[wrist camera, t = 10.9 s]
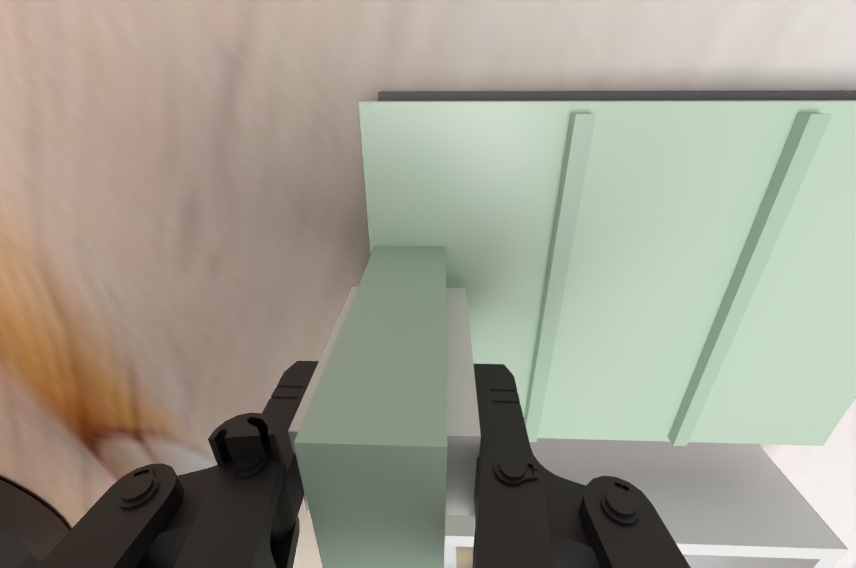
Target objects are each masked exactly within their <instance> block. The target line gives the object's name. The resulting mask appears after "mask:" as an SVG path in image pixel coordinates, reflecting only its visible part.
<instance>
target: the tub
mask: <svg viewBox="0 0 856 568" xmlns="http://www.w3.org/2000/svg"><path fill="white" fill-rule="evenodd" d="M529 443H530V447H531V449H532V452H533V455H534V456H535V457H536V459H537V460H538V462H539V463H540V464H541V465H542V466H543V467H544V468H545V469H547V470H548V471H550V472H552V473H553V474H555V475H557V476H559V477H562V478H564V479H567V480H570V481H573V482H577V483H580V484H583V485H587V484H588V483H589V482H590V481H591V480H592V479H593V478H597V477H600V476H612V477H618V478H620V479H623V480H625V481H627V482H630V483H631V484H633V485H634V486H635V487H637V488H638V489H639V490H641V491H642V492H643V493H644V494H645V496H646V497H647V498H648V499H649V500H650V502H651V503H652V504H653V506H654V508H655V509H656V511H657V513H658V514H659V516H660V518H661V519H662V521H663V523H664V524H665V526H666V528H667V529H668V531H669V533H670V534H671V536H672V538H673V539H674V541H675V543H676V544H677V546H678V548H679V549H680V551H681V553H682V554H685V555H689V556H688V557H686V558H685V559H686V561H687V563H688V564H689V566H690V568H833V567H834V566H835V564H836V563H837V562H838V561H839V560H840V559H841V558H842V556H843V555H844V554H845V553H846V552H847V551H848V548H847V547H846V546H845V545H844V544H843V543H842V541H841V540H840V539H839V538H838V537H837V536H836V534H835V533H834V532H833V531H832V530H831V529H830V527H829V526H828V525H827V524H826V523H825V522H824V521H823V519H822V518H821V517H820V516H819V515H818V514H817V512H816V511H815V510H814V509H813V508H812V507H811V505H810V504H809V503H808V502H807V501H806V500H805V498H804V497H803V496H802V495H801V494H800V493H799V491H798V490H797V489H796V488H795V487H794V486H793V484H792V483H791V482H790V481H789V480H788V479H787V477H786V476H785V475H784V474H783V473H782V472H781V470H780V469H779V468H778V467H777V466H776V465H775V464H774V462H773V461H772V460H771V459H770V458H769V457H768V455H767V454H766V453H765V452H764V451H763V450H762V448H761V447H760V446H759V445H758V444H739V443H702V442H688V444H687V446H673V445H672V443H671V442H665V441H628V440H591V439H554V438H537V442H529ZM474 535H475V511H474V516H465V515H445V548H444V568H457V567H456V546H459V547H473V546H474Z"/></svg>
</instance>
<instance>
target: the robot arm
mask: <svg viewBox="0 0 856 568" xmlns="http://www.w3.org/2000/svg"><path fill="white" fill-rule="evenodd" d="M357 288H358V287H356V286H352V288H351V290H350V292H349V294H348V297H347V299H346V301H345V303H344V306H343V308H342V310H341V312H340V315H339V317H338V319H337V322H336V324H335V326H334V328H333V331H332V333H331V335H330V337H329V340H328V342H327V344H326V346H325V349H324V351H323V353H322V355H321V358H320V360H319V361H297V362H296V363H294V364H293V365H292V366H291V367H290V368H289V369H287V370H286V371H285V372H284V374H283V376H282V377H281V379H280V381H279V383H278V385H277V388H275V390H274V392H273V394H272V396H271V399H269V401H268V403H267V405H266V407H265V409H264V411H263V412H262V414H261V413H247V414H242V415H238V416H236V417H234V418H231V419H229V420H227V421H225V422H224V423H223V424H221V425H220V426H219V427H218V428H216V429H215V430H214V432H213V433H212V434H211V436H210V437H209V439H208V440H209V443H210V445H211V448H212V451H213V453H214V456H215V459H216V461H217V464H218V465H216V466H213V467H210V468H207V469H204V470H199V471H195V472H191V473H187V474H183V475H179V476H177V475H176V473H175V471H174V470H173V468H172V467H171V466H168V465H165V464H150V465H147V466H144V467H140V468H137V469H135V470H134V471H132V472H130V473H128V474H127V475H125V476H123V477H122V478H121V479H120V480H118V481H117V482H116V483H115V484H114V485H113V486H111V487H110V488H109V489H108V491H107V492H106V493H105V494H104V495H103V496H102V497H101V498H100V499H99V500H98V501H97V502H96V503H95V504H94V506H93V507H92V508H91V509H90V510H89V511H88V512H87V513H86V514H85V515H84V516H83V517H82V518H81V519H80V521H79V522H78V523H77V524H76V525H75V526H74V527H73V528H72V529H71V530H70V531H69V529H68V528H67V527H66V526H65V524H64V523H63V522H62V521H61V520H60V519H59V518H58V517H57V516H56V515H55V514H54V513H53V512H52V511H51V510H49V509H48V508H47V507H46V506H44V505H43V504H42V503H40V502H39V501H37V500H36V499H34V498H33V497H31V496H30V495H28V494H26V493H25V492H23V491H21V490H20V489H18V488H16V487H14V486H12V485H10V484H8V483H6V482H4V481H2V480H0V568H293V563H294V558H295V552H296V547H297V542H298V537H299V519H298V512H299V509H300V506H301V503H302V500H303V497H304V500H305V505H306V509H307V510H309V505H308V501H307V497H306V493H305V488H304V484H303V480H302V475H301V471H300V467H299V462H298V458H297V454H296V450H295V445H294V441H295V439H296V436H297V434H298V431H299V429H300V427H301V424H302V422H303V419H304V417H305V414H306V412H307V410H308V407H309V405H310V402H311V400H312V397H313V395H314V393H315V390H316V388H317V385H318V383H319V380H320V378H321V376H322V373H323V371H324V368H325V366H326V363H327V361H328V358H329V356H330V354H331V351H332V349H333V346H334V344H335V341H336V339H337V337H338V334H339V332H340V329H341V327H342V324H343V322H344V320H345V317H346V315H347V312H348V310H349V307H350V305H351V303H352V300H353V298H354V295H355V293H356V290H357ZM446 348H447V480H446V514H445V515H465V516H474V511H475V535H474V546H473V566H472V568H690V566H689V564H688V563H687V561H686V559H685V558H684V556H683V554H682V553H681V551H680V549H679V548H678V546H677V544H676V543H675V541H674V539H673V538H672V536H671V534H670V533H669V531H668V529H667V528H666V526H665V524H664V523H663V521H662V519H661V518H660V516H659V514H658V513H657V511H656V509H655V508H654V506H653V504H652V503H651V502H650V500H649V499H648V498H647V497H646V496H645V494H644V493H643V492H642V491H641V490H639V489H638V488H637V487H635V486H634V485H633V484H631V483H630V482H627V481H625V480H623V479H620V478H618V477H612V476H600V477H597V478H593V479H592V480H591V481H590V482H589V483H588V484H587V485H583V484H580V483H577V482H573V481H570V480H567V479H564V478H562V477H559V476H557V475H555V474H553V473H552V472H550V471H548V470H547V469H545V468H544V467H543V466H542V465H541V464H540V463H539V462H538V460H537V459H536V457H535V456H534V455H533V452H532V449H531V447H530V443H529V438H528V434H527V430H526V425H525V421H524V417H523V413H522V408H521V404H520V400H519V395H518V393H517V387H516V383H515V378H514V376H513V374H512V373H511V372H510V371H509V370H508V368H507V367H506V366H505V365H504V364H473V355H472V345H471V335H470V325H469V315H468V306H467V296H466V288H446Z"/></svg>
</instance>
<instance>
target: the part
mask: <svg viewBox="0 0 856 568" xmlns="http://www.w3.org/2000/svg"><path fill="white" fill-rule="evenodd" d="M472 566H473V547H459V546H456V567H457V568H472Z"/></svg>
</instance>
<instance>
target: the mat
mask: <svg viewBox="0 0 856 568" xmlns="http://www.w3.org/2000/svg"><path fill="white" fill-rule="evenodd" d="M378 95H379V101H828V100H856V91H580V92H378Z"/></svg>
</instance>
